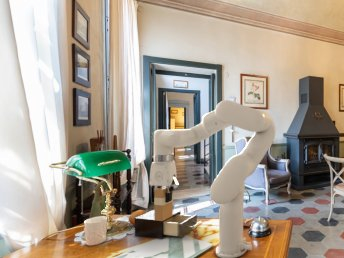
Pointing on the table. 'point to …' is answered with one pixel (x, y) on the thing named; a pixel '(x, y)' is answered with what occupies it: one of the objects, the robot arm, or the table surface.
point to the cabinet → (150, 225)
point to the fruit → (134, 215)
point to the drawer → (180, 225)
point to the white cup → (95, 230)
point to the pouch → (98, 201)
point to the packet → (162, 205)
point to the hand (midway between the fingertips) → (163, 200)
